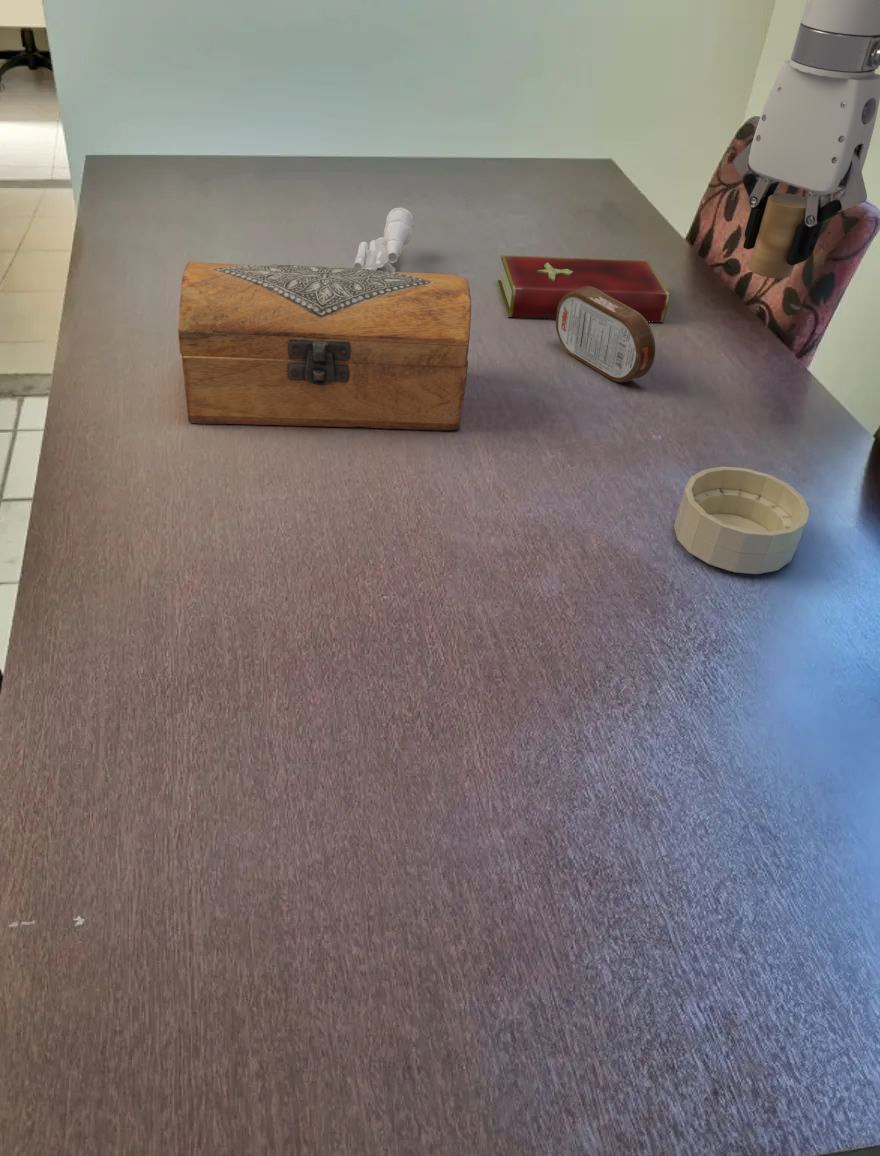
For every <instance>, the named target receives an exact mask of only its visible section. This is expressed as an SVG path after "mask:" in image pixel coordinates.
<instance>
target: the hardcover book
mask: <svg viewBox="0 0 880 1156" xmlns="http://www.w3.org/2000/svg"><path fill="white" fill-rule="evenodd" d="M500 260H501V263H502V271H501V279H498V280H497V284H498V283H499V285H498V288H499V287H500V288H499V292H500V291H501V292H500V295H501V294H502V295H501V298H502V297H503V298H502V301H503V300H504V302H503V305H504V304H505V305H504V307H506V308H505V311H506V310H507V311H506V314H508V315H507V317H520V318H519V319H534V318H544V319H543V320H546V319H545V318H549V319H548V320H556V314H557V308H558V304H559V302H560V300H561V299H562V298H563V297H564V296H565V295H566V294H568V293H570V292H572V291H575V290H578V289H579V288H582V287H585V286H590V287H594V288H596V289H598V290H599V291H601V292H603V293H605V294H606V295H608V296H610V297H612V298H613V299H615V300H617V301H619V302H621V303H623V304H624V305H626V306H628V307H630V308H632V309H634V310H635V311H637V312H639V313H640V314H641V315H642V316H643V317H644V318H645V319H646V321H650V322H649V323H652V321H653V322H663V323H664V321H665V318H666V316H667V315H666V314H667V311H668V307H669V302H670V296H671V295H670V294H671V293H670V292H669V291H668V289H667V288H666V286H665V285H664V283H663V282H662V281H663V280H662V279H661V278H660V277H659V275H658V273H657V272H656V270H655V268H654V267H653V265H652V263H651V262H650V260H644V259H643V260H642V259H618V258H617V259H615V258H591V257H590V258H589V257H563V256H541V255H539V256H538V255H537V256H536V255H513V254H511V255H510V254H501V256H500ZM554 318H555V319H554Z"/></svg>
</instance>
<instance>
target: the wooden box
mask: <svg viewBox="0 0 880 1156" xmlns="http://www.w3.org/2000/svg"><path fill="white" fill-rule="evenodd" d="M182 273H183V274H182V278H181V284H180V299H179V304H178V305H179V307H178V320H177V321H178V324H177V325H178V327H177V333H178V347H179V349H178V350H179V354H180V355H181V364H182V370H183V371H182V373H183V383H184V384H183V385H184V393H185V394H184V395H185V401H186V413H187V420H188V422H189V423H192V424H205V425H206V424H207V425H208V424H209V425H210V424H211V425H212V424H218V425H219V424H220V425H221V424H223V425H225V424H226V425H257V426H259V425H261V426H294V427H295V426H297V427H326V428H327V427H330V428H369V429H391V430H393V429H395V430H419V431H424V430H425V431H457V430H459V429H460V426H461V420H462V413H463V404H464V403H463V402H464V399H465V392H466V386H467V377H468V368H469V360H468V358H469V357H468V356H469V347H470V339H471V323H472V322H471V321H472V297H471V290H470V283H469V280H468V278H467V277H466V276H463V275H459V274H447V273H430V272H429V273H427V272H406V271H405V272H404V271H394V272H390V271H389V270H378V269H377V270H370V269H357V268H353V267H342V266H341V267H338V266H323V265H322V266H321V265H320V266H319V265H297V264H277V263H276V264H275V263H274V264H256V263H255V264H254V263H253V264H252V263H251V264H250V263H249V264H248V263H223V262H222V263H220V262H218V263H217V262H202V261H192V260H191V261H188V262H187V264H185V266H184V270H183V272H182Z"/></svg>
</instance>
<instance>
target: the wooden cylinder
mask: <svg viewBox="0 0 880 1156" xmlns="http://www.w3.org/2000/svg"><path fill="white" fill-rule="evenodd" d="M806 203H807V196H806V197H805V196H802V195H799V194H793V193H786V192H780V193H779V192H776V194H772V195H770V196H769V197H768V201H767V204H766V208H765V211H764V215H763V218H762V222H761V225H760V229H759V232H758V235H757V239H756V242H755V246H754V248H752V252H751V256H750V259H749V263H748V269H749V271H751V272H752V273H754V274H756V275H757V276H760V277H765V278H769V279H786V278H789V277H791V276H792V274H793V272H794V267H795V265H793V266H792V265H789V264H787V262H786V260H787V257H788V254H789V250H790V247H791V244H792V241H793V238H794V234H795V231H796V228H797V226H798V225H799V224H801V223H803V222H804V219H805V212H806Z"/></svg>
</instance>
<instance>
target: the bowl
mask: <svg viewBox="0 0 880 1156" xmlns="http://www.w3.org/2000/svg"><path fill="white" fill-rule="evenodd" d="M810 513H811V510H810V508H809V505H808V503H807V501H806V499H805V497H804V496H803V495H802V494H801V493H800V492H799V491H797V490H796V489H795V488H794V487H793V486H792V485H791V484H790V483H787V482H786V481H783V480H782V479H779V478H777V477H775V476H774V475H772V474H769V473H765V472H763V471H758V470H754V469H751V468H748V467H737V466H718V467H710V468H705V469H702V470H700V471H699V472H697V473H695V474H693V475H691V476H690V477H689V479H688V481H687V483H686V485H685V487H684V490H683V493H682V497H681V500H680V503H679V507H678V509H677V514H676V517H675V521H674V523H673V529H674V532H675V537H676V539H677V541H678V542H679V543H680V544H681V545H682V546H683V548H684V549H685V550H686V551H687V552H688V553H689V554H691V555H692V556H694V557H696V558H697V559H700V560H701V561H702V562H705V563H706V564H708V565H710V566H713V567H716V568H719V569H722V570H726V571H728V572H732V573H739V574H748V575H749V574H750V575H751V574H752V575H760V574H765V573H770V572H772V573H773V572H777V571H779V570H781V569H782V568H783V567H785V566H786V565H788V564H789V563H790V562H791V561H792V560H793V558H794V555H795V553H796V551H797V548H798V545H799V543H800V541H801V538H802V535H803V533H804V530H805V528H806V525H807V523H808V521H809V517H810Z"/></svg>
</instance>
